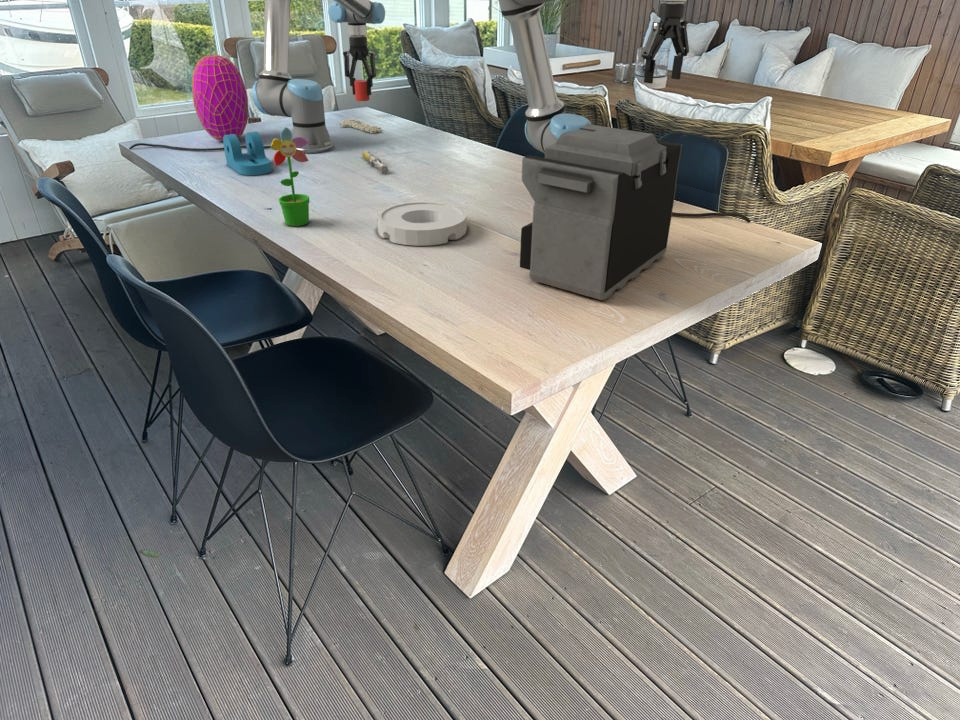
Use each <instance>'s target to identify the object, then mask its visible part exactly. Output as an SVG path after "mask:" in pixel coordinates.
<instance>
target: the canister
mask: <svg viewBox="0 0 960 720" xmlns="http://www.w3.org/2000/svg"><path fill="white" fill-rule="evenodd" d="M354 85H355V95H354V96H355V97H354V99H355V101H356V102H368V101H370V95H368V92H367V79H356V80H355V81H354Z"/></svg>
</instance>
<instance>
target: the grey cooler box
mask: <svg viewBox="0 0 960 720" xmlns="http://www.w3.org/2000/svg"><path fill="white" fill-rule="evenodd" d="M682 147H683V144H682V143H677V142H671V141H665V140H658V139H656V136H655V134H654V133H649V132H643V131H636V130H629V129H623V128H616V127H610V126H603V125H597V124H591V125H590V124H589V125H586V126H583V127H580V128H579V130H577V131H569V132H566V133H563V134H561V135H560V137H559V138H558V140H557V141H556V143H554V144H552V145H550V146H548V147H545V153H544V157H540V156H535V155H531V154H529V155H525V156H523V157H522V161H521V182H522V183H523V185H524V186H525V188H526V190H527V192H528V193H529V195H530V197H531V199H532V200H533V201H534V204H533V209H532V222H530V223H528V224H526V225H524V226H522V227H521V230H520V231H521V232H520V251H519V268H521V269H525V270H528V271H529V278H530V280H531V281H534V282H537V283H541V284H544V285H547V286H551V287H554V288H558V289H561V290H565V291H568V292H572V293H575V294H579V295H582V296H585V297H589V298H591V299H592V298H593V299H596V300H599V301H606V300H608V299H609V298H610V297H611V296H612V295H613V293H614V292H615V291H616V290H621V289H622V288H624V287H625V285H626V284H627V282H628V281H629V280H634V279H635V278H637V277H638V276H639V275H640V273H641V272H642V271H643V270H647V269H649V268H650V267H651V266H652V265H653V263H654V262H655V261H659V260H661V259H662V258H663V257H664V255H665V253H666V252H667V248H668V242H669V236H670V228H671V223H672V222H671V221H672V216H673V215H672V212H673V210H674V203H675V198H676V192H677V191H676V190H677V180H678V173H679V168H680V167H679V166H680V162H681V161H680V160H681V154H682V149H683V148H682Z"/></svg>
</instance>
